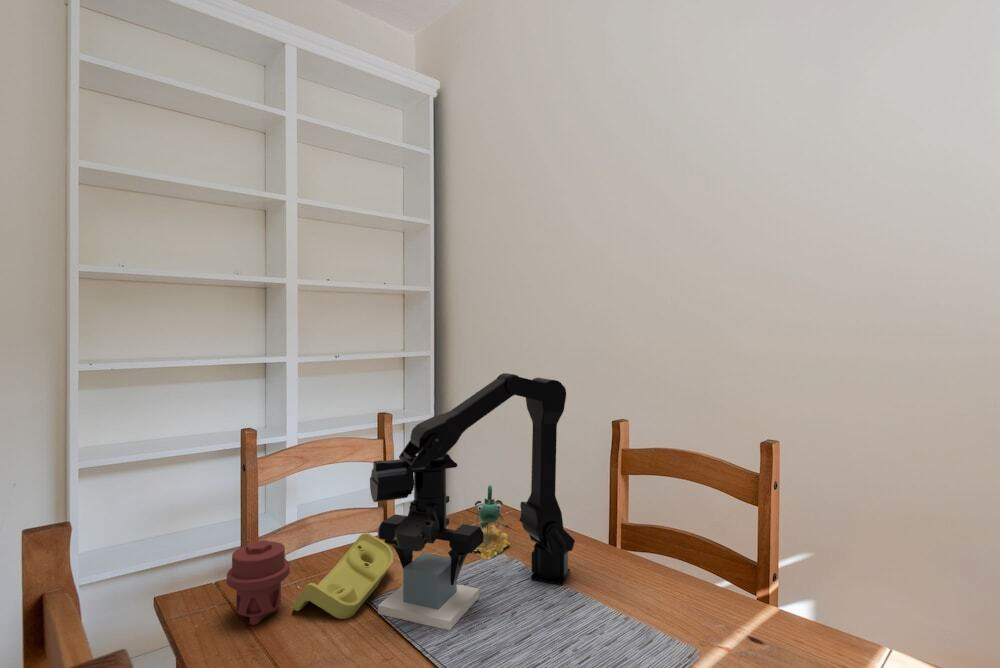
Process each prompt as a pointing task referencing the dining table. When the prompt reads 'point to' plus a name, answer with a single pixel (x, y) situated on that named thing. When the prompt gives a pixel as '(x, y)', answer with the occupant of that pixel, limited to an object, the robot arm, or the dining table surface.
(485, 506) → the green and yellow piece
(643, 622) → the dining table surface
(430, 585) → the slate grey cube
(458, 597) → the base plate
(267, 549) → the mechanical component
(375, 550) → the plastic component
